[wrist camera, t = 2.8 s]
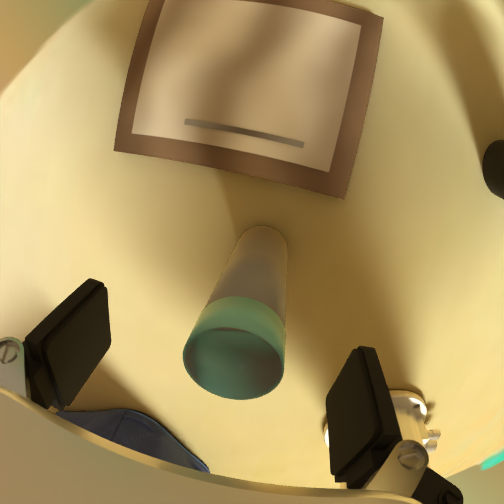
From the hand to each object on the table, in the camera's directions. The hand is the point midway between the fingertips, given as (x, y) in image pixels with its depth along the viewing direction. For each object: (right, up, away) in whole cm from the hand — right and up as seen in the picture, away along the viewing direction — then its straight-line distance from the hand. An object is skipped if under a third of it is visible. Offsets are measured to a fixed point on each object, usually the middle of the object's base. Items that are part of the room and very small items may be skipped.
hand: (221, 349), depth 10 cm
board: (+1, +16, +8) cm, 17 cm away
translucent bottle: (+2, +4, +12) cm, 13 cm away
